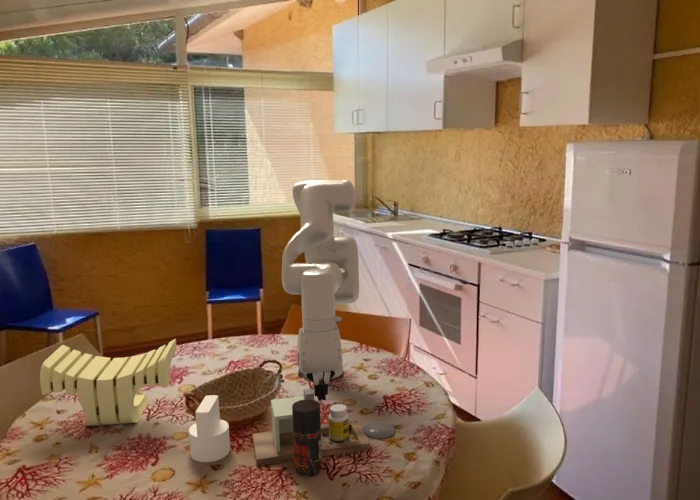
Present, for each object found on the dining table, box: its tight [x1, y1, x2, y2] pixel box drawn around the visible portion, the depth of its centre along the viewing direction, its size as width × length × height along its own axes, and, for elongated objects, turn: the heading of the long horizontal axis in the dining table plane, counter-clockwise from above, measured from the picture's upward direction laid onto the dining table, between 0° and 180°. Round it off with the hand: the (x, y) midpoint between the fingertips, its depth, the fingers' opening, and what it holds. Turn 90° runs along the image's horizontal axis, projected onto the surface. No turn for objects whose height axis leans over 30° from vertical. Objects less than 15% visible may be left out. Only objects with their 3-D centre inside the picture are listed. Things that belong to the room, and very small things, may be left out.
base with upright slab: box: [188, 394, 231, 463], centre depth 135 cm, size 9×9×12 cm
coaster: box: [362, 420, 396, 440], centre depth 144 cm, size 8×8×1 cm
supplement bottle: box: [328, 403, 350, 444], centre depth 139 cm, size 5×5×8 cm
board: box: [252, 419, 371, 467], centre depth 138 cm, size 12×26×2 cm, turn 103°
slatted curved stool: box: [39, 338, 177, 427], centre depth 154 cm, size 30×16×18 cm, turn 96°
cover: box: [270, 388, 315, 452], centre depth 136 cm, size 9×10×12 cm
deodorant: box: [292, 399, 323, 478], centre depth 127 cm, size 6×6×15 cm
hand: (321, 398), depth 137 cm, fingers closed
